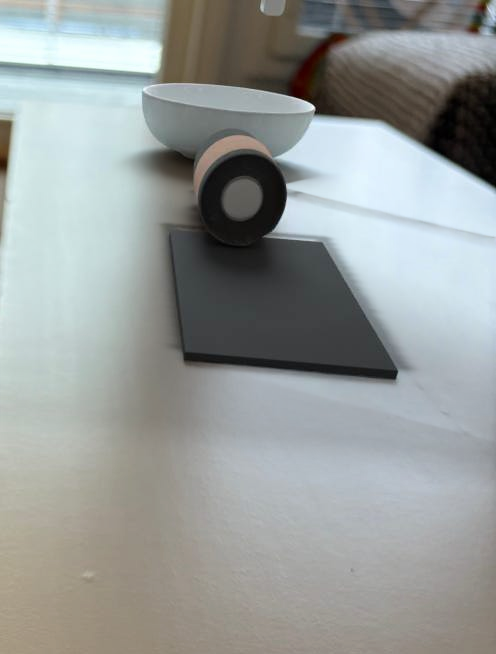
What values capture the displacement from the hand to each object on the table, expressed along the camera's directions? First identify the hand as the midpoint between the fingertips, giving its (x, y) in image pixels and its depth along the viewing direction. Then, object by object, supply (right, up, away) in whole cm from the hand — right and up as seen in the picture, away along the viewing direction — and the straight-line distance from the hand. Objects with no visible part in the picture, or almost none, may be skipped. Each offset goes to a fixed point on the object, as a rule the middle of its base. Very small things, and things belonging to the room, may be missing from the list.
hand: (270, 14), depth 88 cm
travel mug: (-1, -8, +12) cm, 14 cm away
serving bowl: (+2, +4, +34) cm, 34 cm away
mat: (-3, -29, -11) cm, 32 cm away
